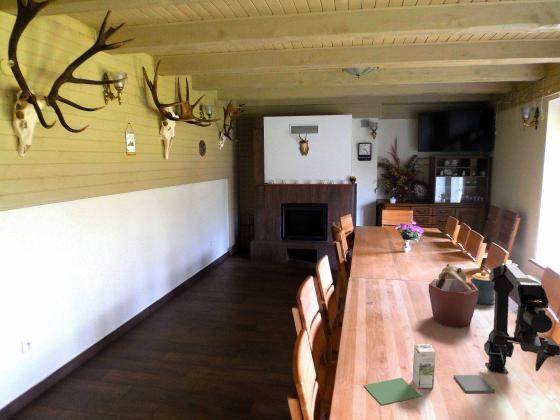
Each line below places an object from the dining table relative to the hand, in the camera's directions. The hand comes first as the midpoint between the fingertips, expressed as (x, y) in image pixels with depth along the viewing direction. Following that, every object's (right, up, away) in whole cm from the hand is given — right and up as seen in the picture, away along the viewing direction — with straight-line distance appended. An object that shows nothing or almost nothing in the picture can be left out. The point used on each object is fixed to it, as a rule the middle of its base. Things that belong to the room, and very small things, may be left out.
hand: (520, 367), depth 128 cm
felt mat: (-38, -14, +13) cm, 42 cm away
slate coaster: (-7, -13, +17) cm, 22 cm away
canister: (+38, -1, +99) cm, 106 cm away
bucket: (+9, -5, +72) cm, 73 cm away
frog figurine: (+35, +3, +134) cm, 138 cm away
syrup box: (-25, -13, +17) cm, 33 cm away
